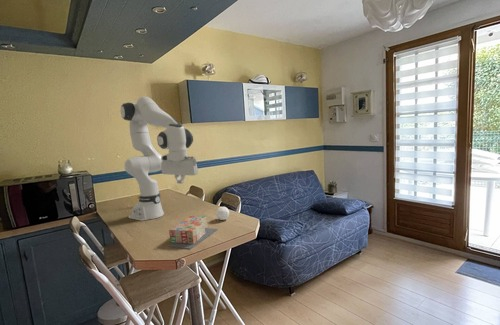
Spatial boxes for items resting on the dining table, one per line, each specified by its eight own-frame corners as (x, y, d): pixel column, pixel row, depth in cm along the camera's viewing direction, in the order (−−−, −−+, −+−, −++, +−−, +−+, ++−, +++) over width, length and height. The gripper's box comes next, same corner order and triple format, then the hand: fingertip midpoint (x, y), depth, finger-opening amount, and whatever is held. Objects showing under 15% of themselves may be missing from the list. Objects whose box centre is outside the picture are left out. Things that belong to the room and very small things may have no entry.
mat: (168, 246, 122) (168, 245, 122) (198, 227, 144) (198, 227, 144) (190, 249, 117) (190, 248, 117) (217, 229, 139) (217, 228, 139)
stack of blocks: (190, 215, 144) (211, 215, 141) (191, 226, 145) (212, 227, 142) (168, 230, 124) (192, 230, 121) (170, 243, 125) (194, 244, 121)
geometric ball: (222, 223, 157) (224, 210, 161) (231, 220, 152) (232, 207, 156) (212, 219, 152) (213, 206, 156) (221, 216, 147) (222, 203, 151)
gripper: (199, 155, 133) (201, 182, 135) (166, 155, 141) (168, 181, 143) (191, 157, 127) (193, 185, 129) (158, 156, 135) (160, 183, 137)
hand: (180, 183), depth 136 cm, fingers closed
